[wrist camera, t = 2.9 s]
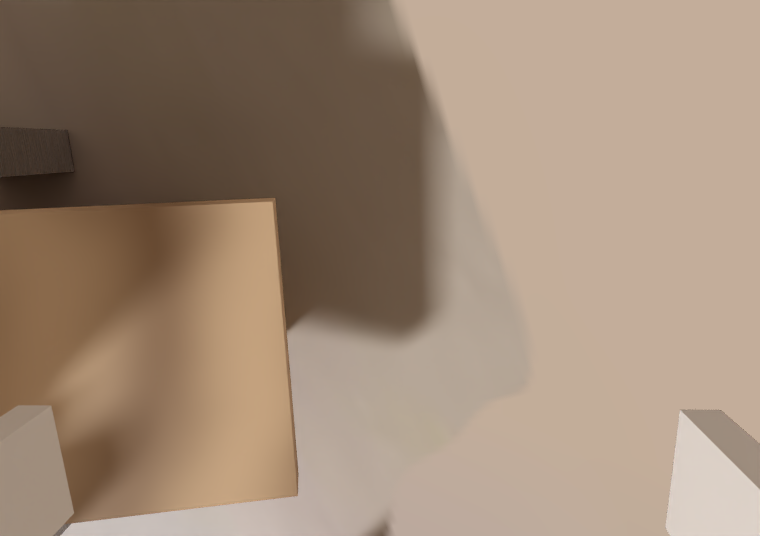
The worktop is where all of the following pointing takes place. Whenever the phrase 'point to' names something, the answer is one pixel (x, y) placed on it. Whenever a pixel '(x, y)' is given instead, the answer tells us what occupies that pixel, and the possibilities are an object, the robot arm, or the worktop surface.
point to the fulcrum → (35, 161)
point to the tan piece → (152, 350)
